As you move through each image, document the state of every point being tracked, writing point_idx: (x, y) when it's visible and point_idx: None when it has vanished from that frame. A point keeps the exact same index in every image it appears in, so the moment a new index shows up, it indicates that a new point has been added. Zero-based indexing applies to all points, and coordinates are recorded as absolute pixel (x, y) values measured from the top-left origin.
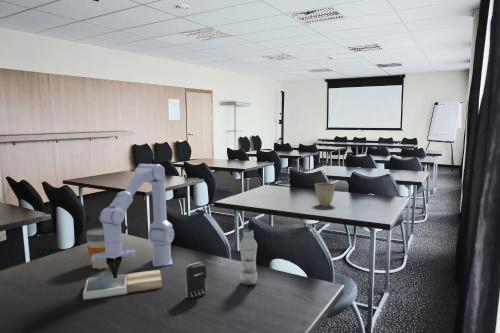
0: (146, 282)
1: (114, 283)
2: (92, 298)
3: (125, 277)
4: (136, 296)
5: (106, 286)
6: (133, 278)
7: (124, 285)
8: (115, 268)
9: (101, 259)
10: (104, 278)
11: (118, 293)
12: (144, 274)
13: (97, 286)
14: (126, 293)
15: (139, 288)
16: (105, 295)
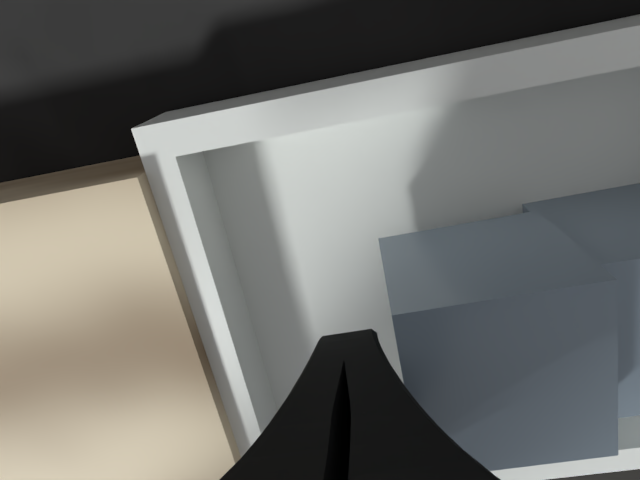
0: None
1: None
2: (599, 24)
3: (252, 428)
4: (11, 13)
5: (454, 229)
6: (112, 360)
7: (184, 190)
8: (316, 439)
9: None
10: (513, 282)
11: (264, 95)
12: (14, 452)
13: (585, 223)
14: (170, 111)
15: (17, 184)
16: (430, 59)
